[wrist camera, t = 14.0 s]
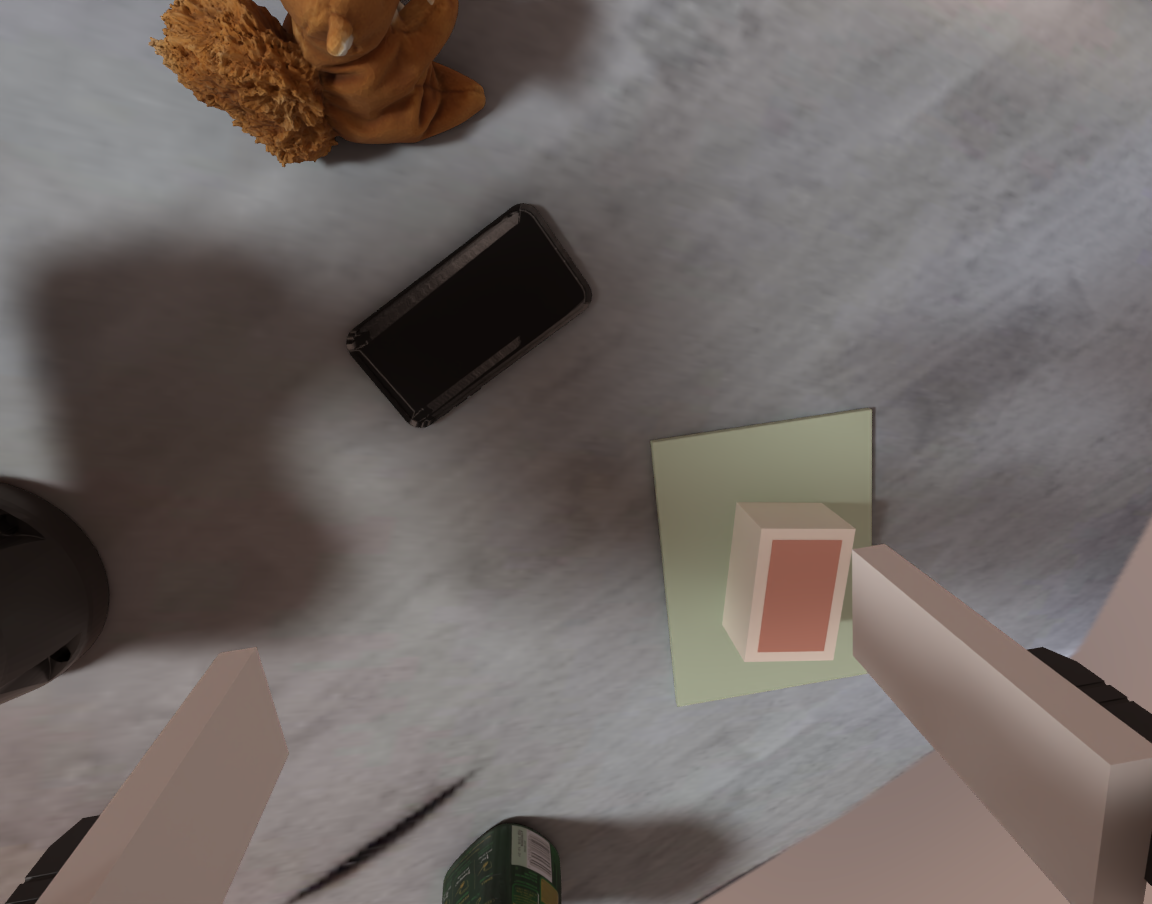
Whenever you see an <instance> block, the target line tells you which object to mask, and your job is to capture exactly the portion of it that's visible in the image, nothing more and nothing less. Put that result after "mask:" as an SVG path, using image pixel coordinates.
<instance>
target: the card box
mask: <svg viewBox="0 0 1152 904" xmlns="http://www.w3.org/2000/svg"><path fill="white" fill-rule="evenodd" d="M855 530H856V529H855V528H854V527H853V526H851V525H850V524H849V523H847V522H846V521H845V520H843V519H842V518H841V517H840V516H838V515H837V514H836V513H834V512H833V511H832V510H830V509H829V508H828V507H827V506H825V505H824V504H823V503H790V502H736V510H735V518H734V527H733V535H732V544H731V552H730V561H729V570H728V578H727V587H726V595H725V604H724V612H723V621H722V625H723V627H724V629H725V630H726V632H727V634H728V635H729V637H730V639H731V640H732V642H733V644H734V645H735V647H736V649H737V651H738V652H739V654H740V656H741V657H742V659H743V661H744V662H775V661H826V660H833V659H834V653H835V647H836V641H837V635H838V630H839V624H840V618H841V612H842V606H843V600H844V595H845V589H846V583H847V577H848V571H849V565H850V560H851V554H852V548H853V542H854V536H855Z"/></svg>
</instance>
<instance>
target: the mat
mask: <svg viewBox="0 0 1152 904" xmlns="http://www.w3.org/2000/svg"><path fill="white" fill-rule="evenodd" d="M650 443H651V453H652V463H653V473H654V483H655V494H656V504H657V514H658V524H659V534H660V544H661V555H662V565H663V575H664V585H665V595H666V606H667V616H668V626H669V636H670V646H671V656H672V667H673V677H674V687H675V697H676V703H677V706H678V707H680V706H686V705H691V704H697V703H703V702H708V701H714V700H720V699H725V698H731V697H737V696H743V695H748V694H754V693H760V692H765V691H771V690H777V689H782V688H788V687H794V686H799V685H805V684H811V683H817V682H822V681H828V680H834V679H839V678H845V677H851V676H856V675H862V674H868V672H867V671H866V670H865V669H864V668H863V667H862V665H861V664H860V663H859V662H858V661H857V660H856V659H855V657H854V656H853V620H852V554H851V560H850V565H849V571H848V577H847V583H846V589H845V595H844V600H843V606H842V612H841V618H840V624H839V630H838V635H837V641H836V647H835V653H834V659H833V660H826V661H775V662H744V661H743V659H742V657H741V656H740V654H739V652H738V651H737V649H736V647H735V645H734V644H733V642H732V640H731V639H730V637H729V635H728V634H727V632H726V630H725V629H724V627H723V625H722V621H723V612H724V604H725V595H726V587H727V578H728V570H729V561H730V552H731V544H732V535H733V527H734V518H735V510H736V502H790V503H823V504H824V505H825V506H827V507H828V508H829V509H830V510H832V511H833V512H834V513H836V514H837V515H838V516H840V517H841V518H842V519H843V520H845V521H846V522H847V523H849V524H850V525H851V526H853V527H854V528H855V529H856V530H855V536H854V542H853V548H852V549H857V548H863V547H869V546H872V409H869V408H863V409H856V410H849V411H843V412H836V413H830V414H823V415H816V416H810V417H803V418H796V419H790V420H783V421H776V422H770V423H763V424H757V425H750V426H743V427H737V428H730V429H723V430H717V431H710V432H704V433H697V434H690V435H684V436H677V437H670V438H664V439H657V440H651V441H650Z"/></svg>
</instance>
